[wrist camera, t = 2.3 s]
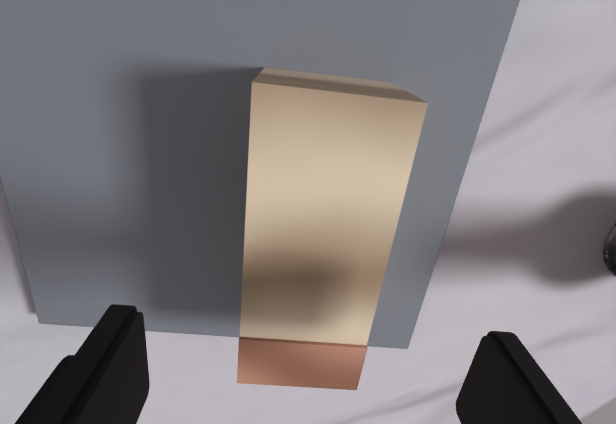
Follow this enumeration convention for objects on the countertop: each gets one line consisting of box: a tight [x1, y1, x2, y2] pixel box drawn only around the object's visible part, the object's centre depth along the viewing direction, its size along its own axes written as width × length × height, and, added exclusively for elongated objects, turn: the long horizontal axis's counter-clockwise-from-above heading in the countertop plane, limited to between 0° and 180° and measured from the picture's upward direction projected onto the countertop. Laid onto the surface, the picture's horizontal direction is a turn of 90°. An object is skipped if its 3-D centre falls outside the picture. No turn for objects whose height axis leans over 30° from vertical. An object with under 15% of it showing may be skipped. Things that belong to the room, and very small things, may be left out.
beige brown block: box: [237, 67, 428, 390], centre depth 15 cm, size 12×5×5 cm, turn 174°
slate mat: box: [0, 0, 520, 349], centre depth 16 cm, size 22×20×1 cm
